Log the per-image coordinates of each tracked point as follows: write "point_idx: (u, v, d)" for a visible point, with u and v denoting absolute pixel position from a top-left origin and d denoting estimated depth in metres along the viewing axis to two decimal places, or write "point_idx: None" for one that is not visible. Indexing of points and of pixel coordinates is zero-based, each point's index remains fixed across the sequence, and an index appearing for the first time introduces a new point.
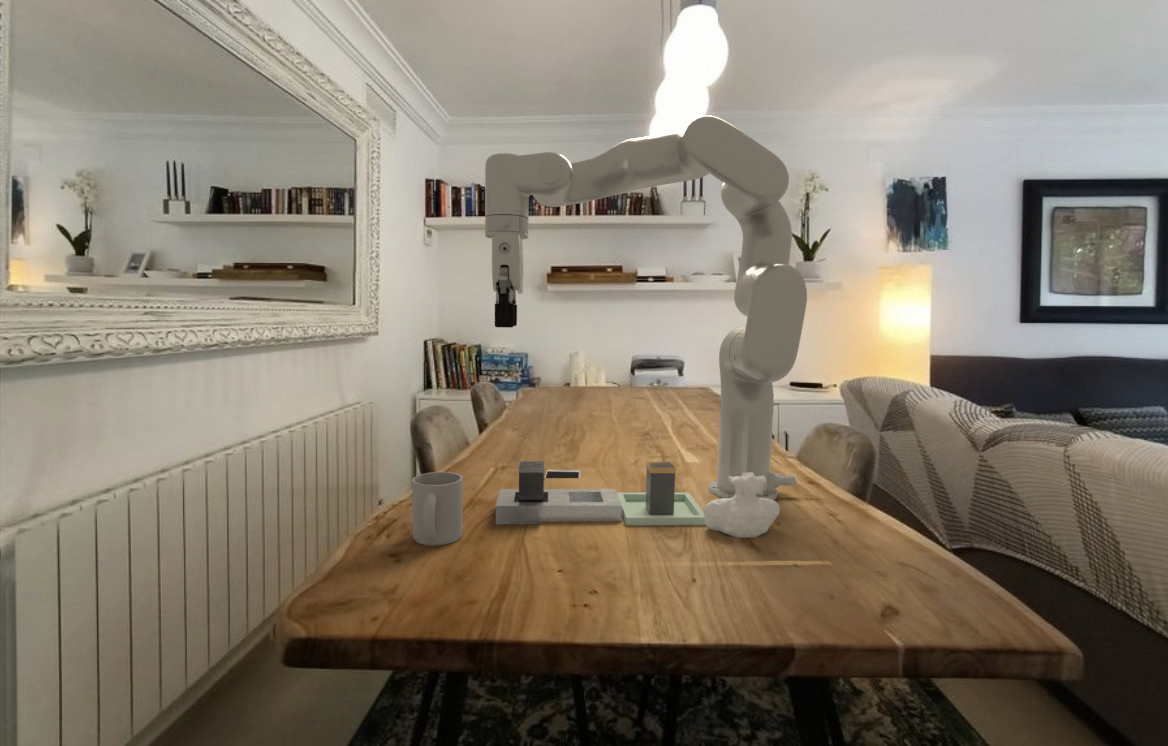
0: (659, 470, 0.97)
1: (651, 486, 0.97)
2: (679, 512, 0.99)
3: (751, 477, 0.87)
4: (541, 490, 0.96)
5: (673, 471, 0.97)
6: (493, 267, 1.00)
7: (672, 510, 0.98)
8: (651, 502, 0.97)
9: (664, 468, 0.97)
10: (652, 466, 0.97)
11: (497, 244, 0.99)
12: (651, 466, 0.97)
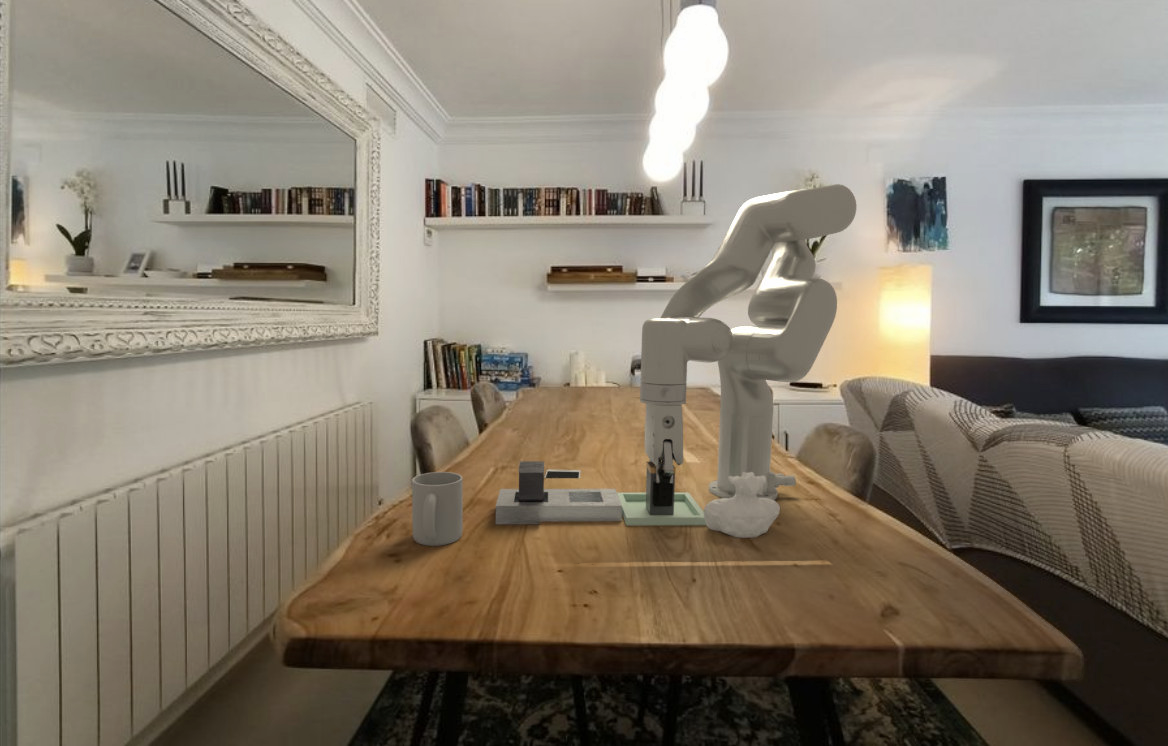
0: None
1: (651, 486, 0.97)
2: (679, 512, 0.99)
3: (751, 477, 0.87)
4: (541, 490, 0.96)
5: (673, 471, 0.97)
6: (655, 441, 0.93)
7: (672, 510, 0.98)
8: (651, 502, 0.97)
9: None
10: (652, 466, 0.97)
11: (660, 417, 0.93)
12: (651, 466, 0.97)
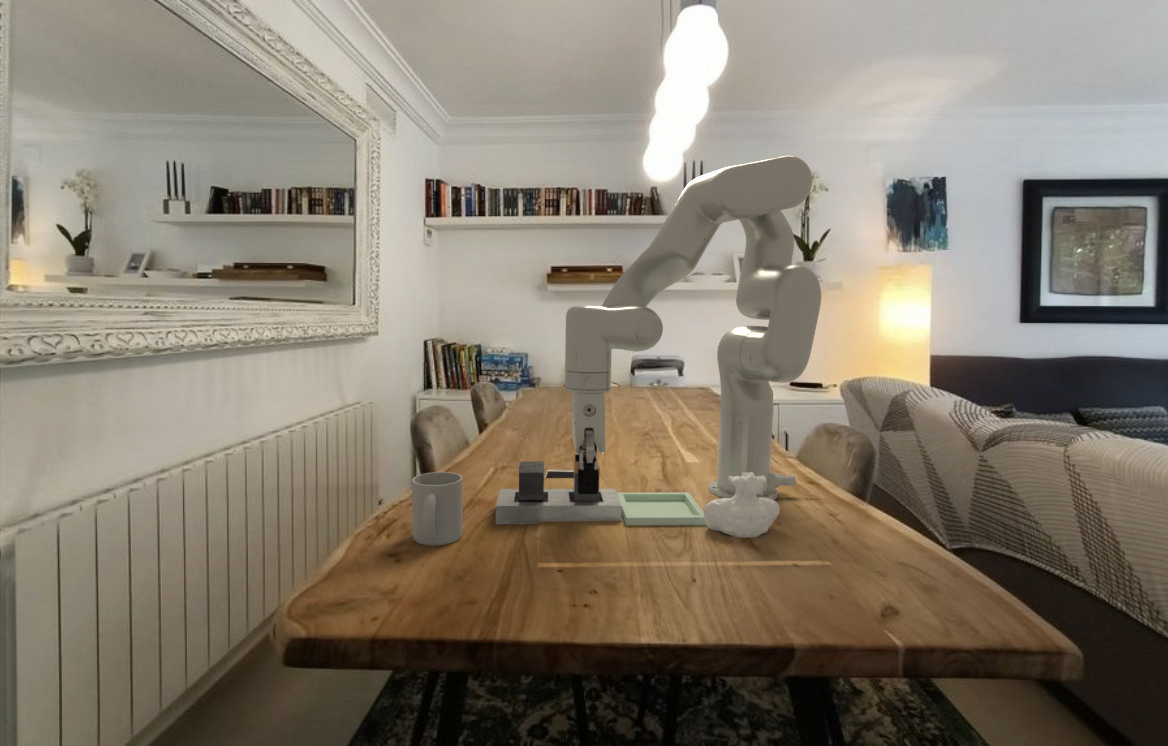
0: None
1: (575, 486, 0.96)
2: (679, 512, 0.99)
3: (751, 477, 0.87)
4: (541, 490, 0.96)
5: None
6: (577, 430, 0.92)
7: None
8: None
9: None
10: (577, 466, 0.97)
11: (581, 405, 0.92)
12: (576, 466, 0.97)
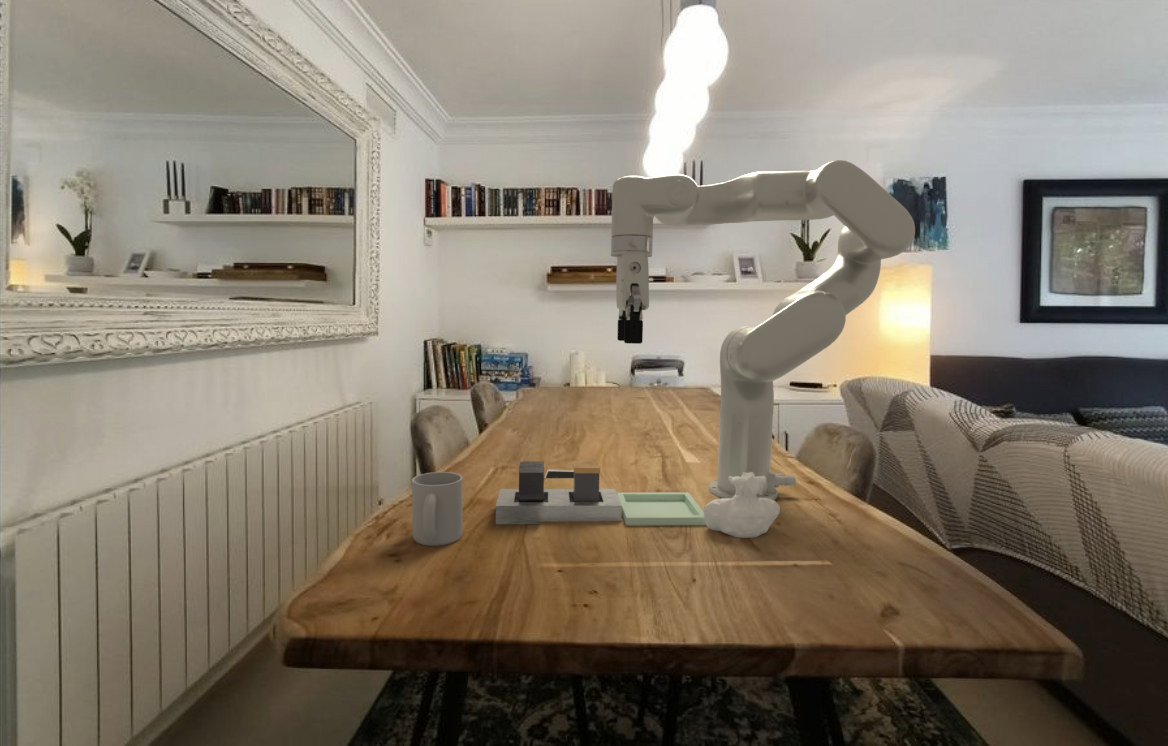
0: (583, 470, 0.96)
1: (575, 486, 0.96)
2: (679, 512, 0.99)
3: (751, 477, 0.87)
4: (541, 490, 0.96)
5: (597, 471, 0.96)
6: (623, 286, 1.03)
7: None
8: None
9: (588, 468, 0.96)
10: (577, 466, 0.97)
11: (627, 263, 1.03)
12: (576, 466, 0.97)
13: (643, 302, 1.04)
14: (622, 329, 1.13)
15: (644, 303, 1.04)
